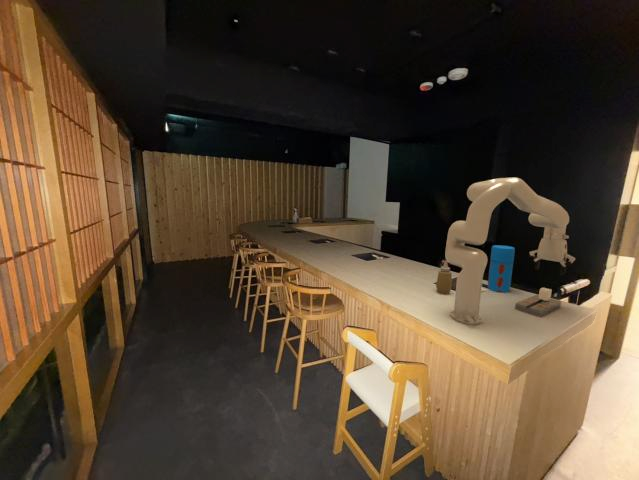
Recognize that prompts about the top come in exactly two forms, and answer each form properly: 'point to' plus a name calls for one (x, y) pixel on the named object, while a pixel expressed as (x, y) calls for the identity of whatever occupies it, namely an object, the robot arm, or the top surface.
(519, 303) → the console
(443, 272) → the squeeze bottle
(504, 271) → the thermos
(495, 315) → the top surface
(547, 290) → the fader
